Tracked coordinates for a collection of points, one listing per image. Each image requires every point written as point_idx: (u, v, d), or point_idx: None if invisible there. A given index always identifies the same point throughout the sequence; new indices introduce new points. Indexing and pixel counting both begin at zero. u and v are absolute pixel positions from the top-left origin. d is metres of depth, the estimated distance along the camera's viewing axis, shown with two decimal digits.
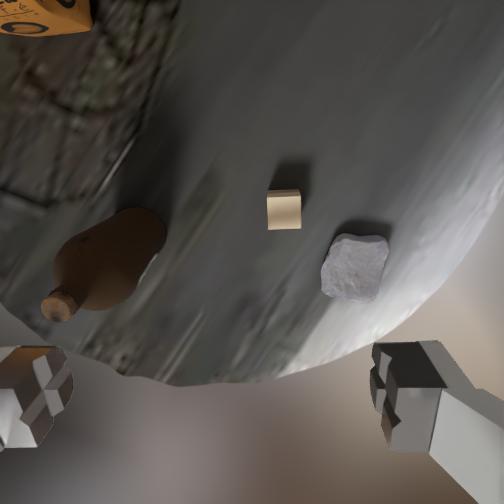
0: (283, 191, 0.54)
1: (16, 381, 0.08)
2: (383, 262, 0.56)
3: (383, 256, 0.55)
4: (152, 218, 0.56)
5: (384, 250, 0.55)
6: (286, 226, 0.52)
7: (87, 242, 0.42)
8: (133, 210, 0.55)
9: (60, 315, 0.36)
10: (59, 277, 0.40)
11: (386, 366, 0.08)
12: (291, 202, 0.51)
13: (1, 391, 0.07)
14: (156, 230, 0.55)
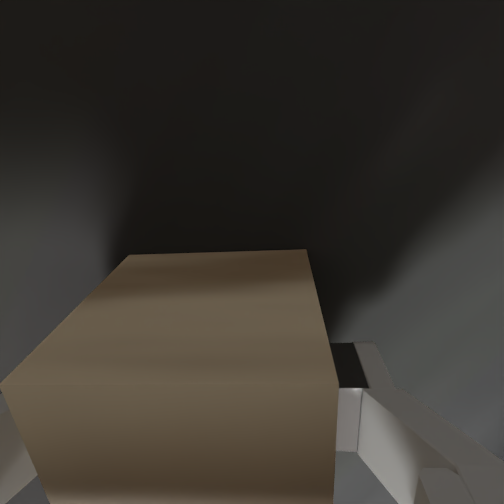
0: (208, 273, 0.08)
1: None
2: None
3: None
4: None
5: None
6: None
7: None
8: None
9: None
10: None
11: None
12: (245, 431, 0.05)
13: None
14: None
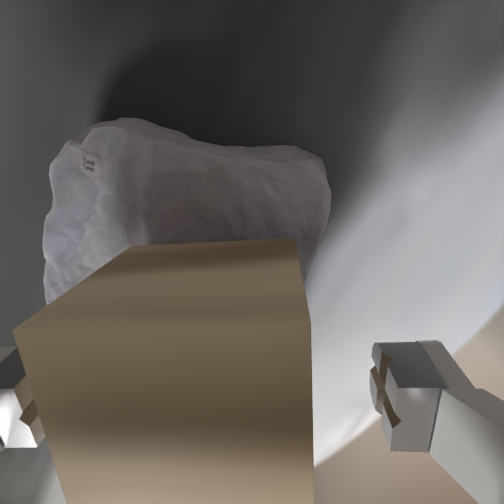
0: (203, 255, 0.09)
1: (16, 381, 0.08)
2: None
3: (299, 244, 0.11)
4: None
5: (305, 212, 0.10)
6: None
7: None
8: None
9: None
10: None
11: (386, 366, 0.08)
12: (229, 372, 0.06)
13: (1, 391, 0.07)
14: None
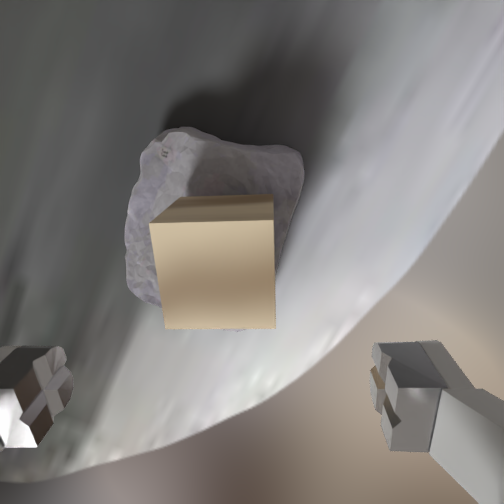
0: (223, 201, 0.17)
1: (16, 381, 0.08)
2: (286, 221, 0.19)
3: (285, 201, 0.19)
4: None
5: (289, 182, 0.18)
6: (225, 321, 0.15)
7: None
8: None
9: None
10: None
11: (386, 366, 0.08)
12: (240, 243, 0.14)
13: (1, 391, 0.07)
14: None
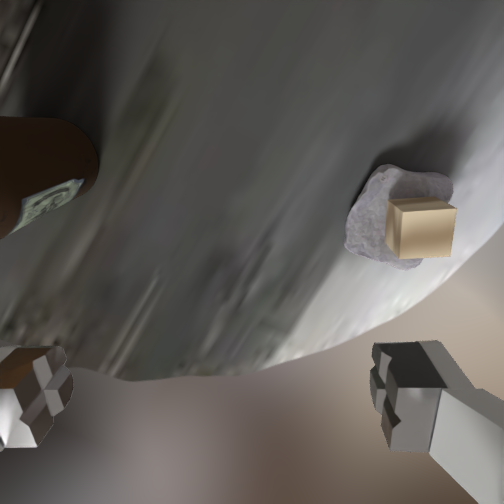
0: (415, 201, 0.36)
1: (16, 381, 0.08)
2: None
3: None
4: (72, 131, 0.38)
5: (446, 192, 0.38)
6: (427, 254, 0.35)
7: None
8: None
9: None
10: None
11: (386, 366, 0.08)
12: (440, 218, 0.33)
13: (1, 391, 0.07)
14: (77, 146, 0.37)
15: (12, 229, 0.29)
